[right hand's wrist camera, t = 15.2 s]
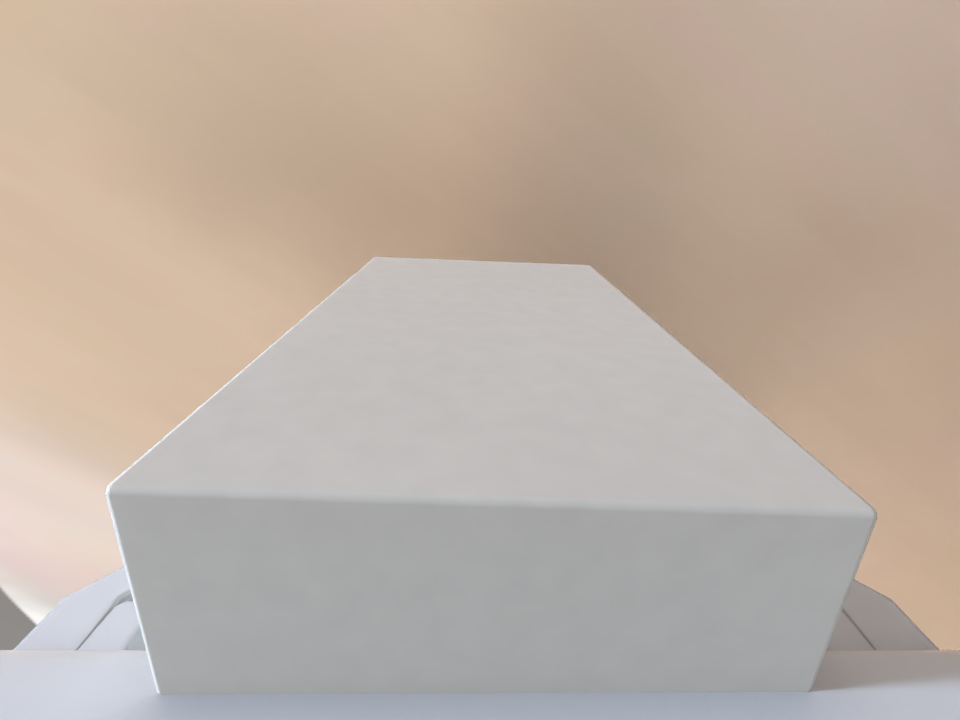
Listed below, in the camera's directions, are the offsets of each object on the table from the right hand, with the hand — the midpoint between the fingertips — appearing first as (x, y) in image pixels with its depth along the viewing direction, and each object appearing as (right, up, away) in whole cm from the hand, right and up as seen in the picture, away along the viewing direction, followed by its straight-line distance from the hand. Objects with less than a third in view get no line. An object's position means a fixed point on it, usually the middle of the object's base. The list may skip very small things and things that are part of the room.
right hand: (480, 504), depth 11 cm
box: (0, -5, +9) cm, 10 cm away
